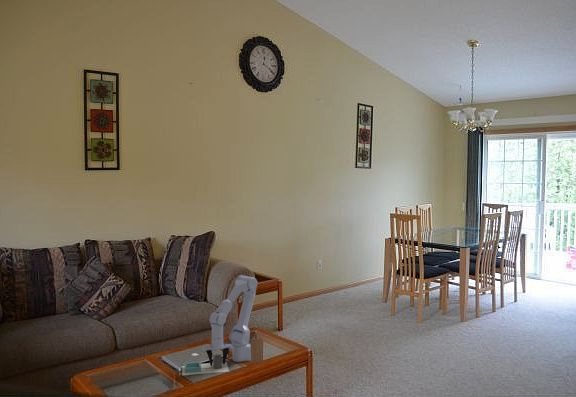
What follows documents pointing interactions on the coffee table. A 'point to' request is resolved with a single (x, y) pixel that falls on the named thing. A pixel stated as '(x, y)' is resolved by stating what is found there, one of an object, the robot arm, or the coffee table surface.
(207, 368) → the board
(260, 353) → the coffee table surface
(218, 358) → the cable plug
